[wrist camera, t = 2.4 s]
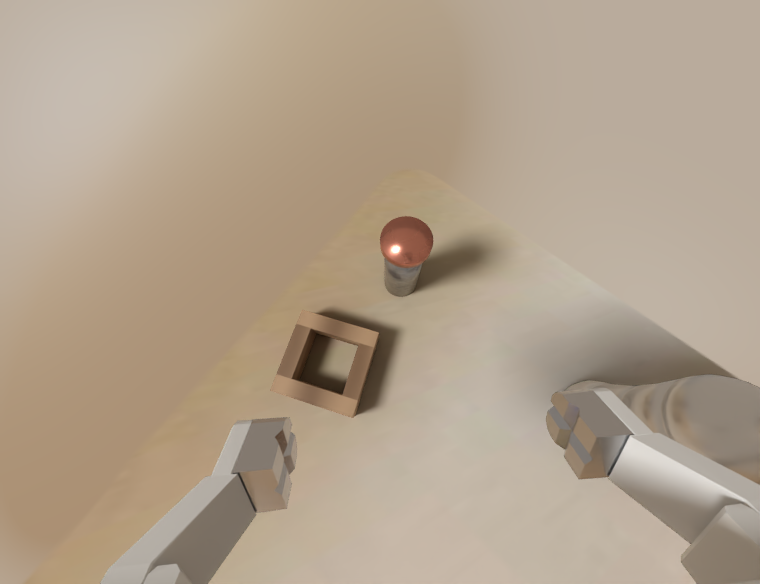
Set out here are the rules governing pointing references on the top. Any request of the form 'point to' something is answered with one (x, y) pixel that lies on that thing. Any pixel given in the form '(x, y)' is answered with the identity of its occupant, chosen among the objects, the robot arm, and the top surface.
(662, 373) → the top surface
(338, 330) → the collar
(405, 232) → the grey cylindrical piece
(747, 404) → the plastic bottle
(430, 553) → the top surface
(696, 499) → the robot arm
